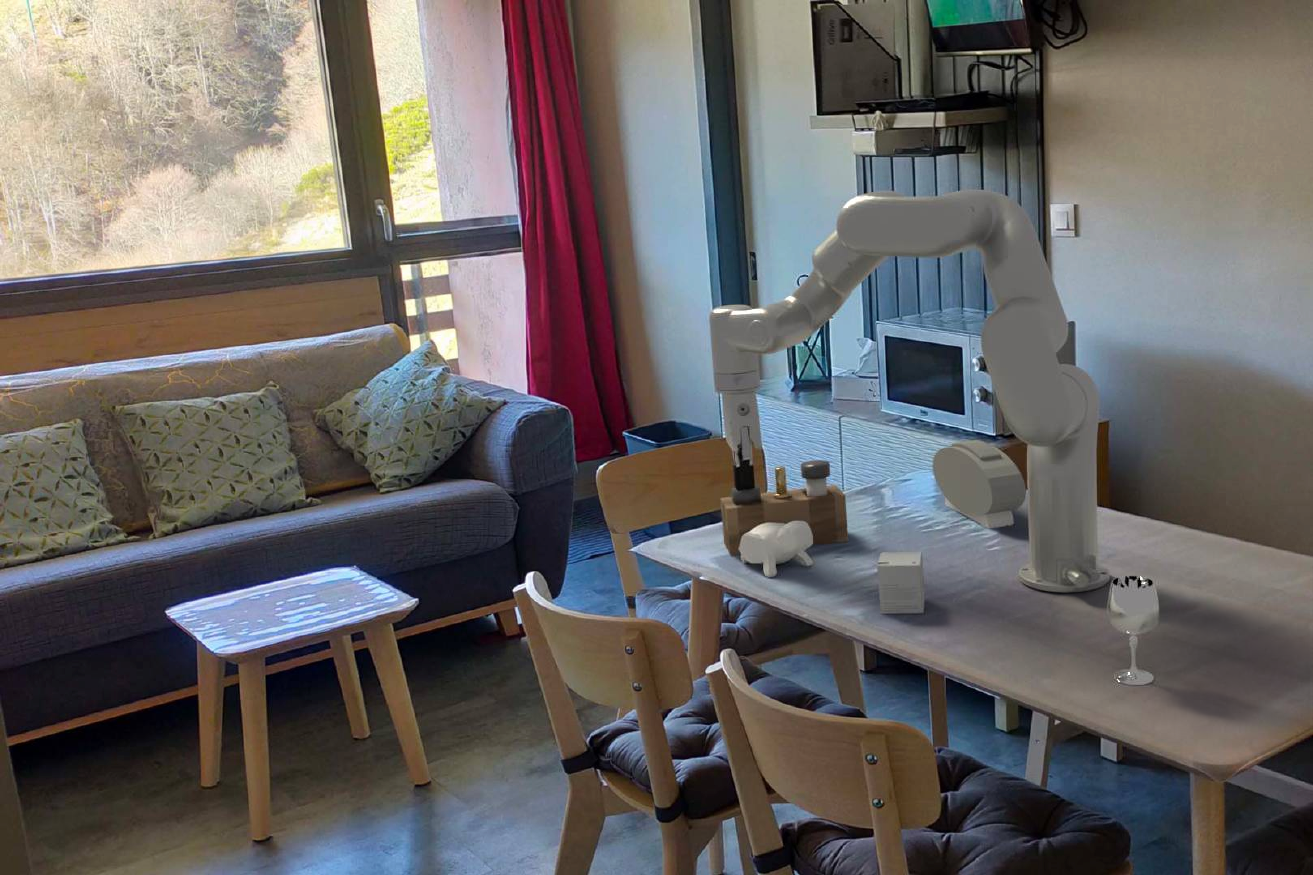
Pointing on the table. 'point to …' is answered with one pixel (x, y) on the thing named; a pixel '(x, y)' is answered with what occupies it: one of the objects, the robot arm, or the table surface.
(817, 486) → the knob
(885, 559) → the skincare box
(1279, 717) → the table surface
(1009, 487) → the alarm clock
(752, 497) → the dark grey rounded lump
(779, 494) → the brass door knob
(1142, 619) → the wineglass
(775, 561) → the white piece
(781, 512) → the walnut mount
